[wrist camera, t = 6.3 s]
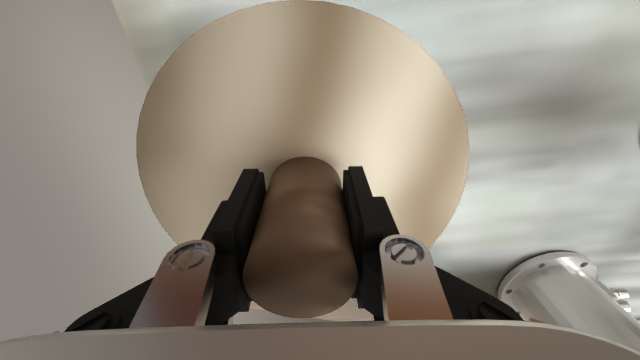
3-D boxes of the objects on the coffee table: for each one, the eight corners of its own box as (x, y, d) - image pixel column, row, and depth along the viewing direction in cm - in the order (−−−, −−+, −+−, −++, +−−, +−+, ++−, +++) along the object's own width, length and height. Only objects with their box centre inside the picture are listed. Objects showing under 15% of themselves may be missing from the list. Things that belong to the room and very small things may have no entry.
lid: (494, -2, 10) (715, -40, 4) (428, 277, 17) (483, 398, 11) (99, 7, 10) (-173, -22, 4) (193, 283, 16) (134, 409, 11)
